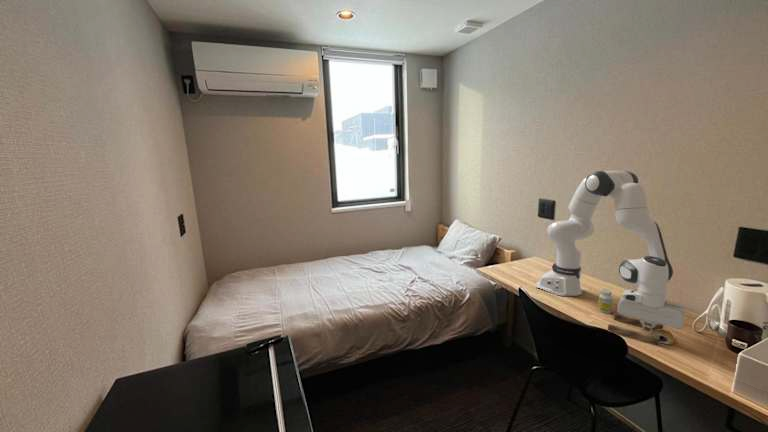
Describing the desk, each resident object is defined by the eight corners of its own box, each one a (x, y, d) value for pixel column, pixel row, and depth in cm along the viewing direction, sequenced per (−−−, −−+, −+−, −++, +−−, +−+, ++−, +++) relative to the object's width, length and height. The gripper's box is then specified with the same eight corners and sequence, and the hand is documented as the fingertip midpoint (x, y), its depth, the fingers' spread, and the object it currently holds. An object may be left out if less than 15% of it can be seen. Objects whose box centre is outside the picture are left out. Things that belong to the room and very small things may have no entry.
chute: (607, 330, 131) (608, 321, 130) (615, 318, 140) (615, 310, 140) (658, 345, 120) (659, 335, 119) (662, 331, 129) (663, 322, 128)
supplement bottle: (610, 314, 144) (612, 294, 143) (596, 310, 148) (598, 291, 147) (613, 310, 148) (614, 290, 146) (599, 306, 152) (601, 287, 150)
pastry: (653, 331, 129) (654, 322, 129) (675, 337, 125) (676, 328, 124) (649, 340, 123) (650, 331, 123) (672, 347, 118) (674, 338, 118)
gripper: (687, 303, 119) (683, 336, 122) (621, 289, 134) (618, 319, 136) (686, 308, 115) (681, 343, 117) (617, 293, 130) (615, 324, 132)
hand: (647, 330), depth 127 cm, fingers closed
